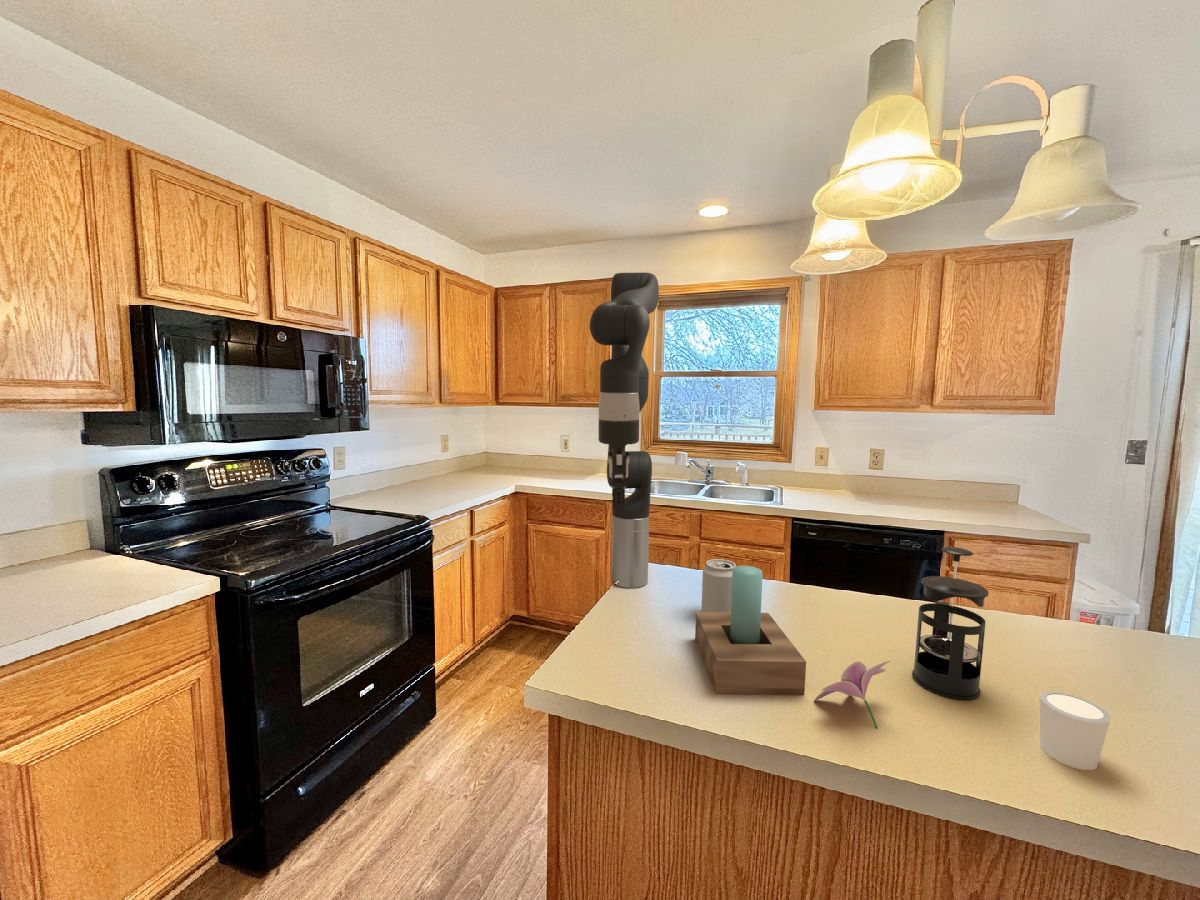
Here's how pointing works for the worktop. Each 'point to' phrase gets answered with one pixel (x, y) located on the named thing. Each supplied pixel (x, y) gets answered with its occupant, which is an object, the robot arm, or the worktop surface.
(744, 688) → the well block
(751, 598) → the peg
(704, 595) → the can
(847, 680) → the lily
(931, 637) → the french press
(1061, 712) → the white cylinder
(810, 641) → the worktop surface
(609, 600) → the worktop surface
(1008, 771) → the worktop surface
